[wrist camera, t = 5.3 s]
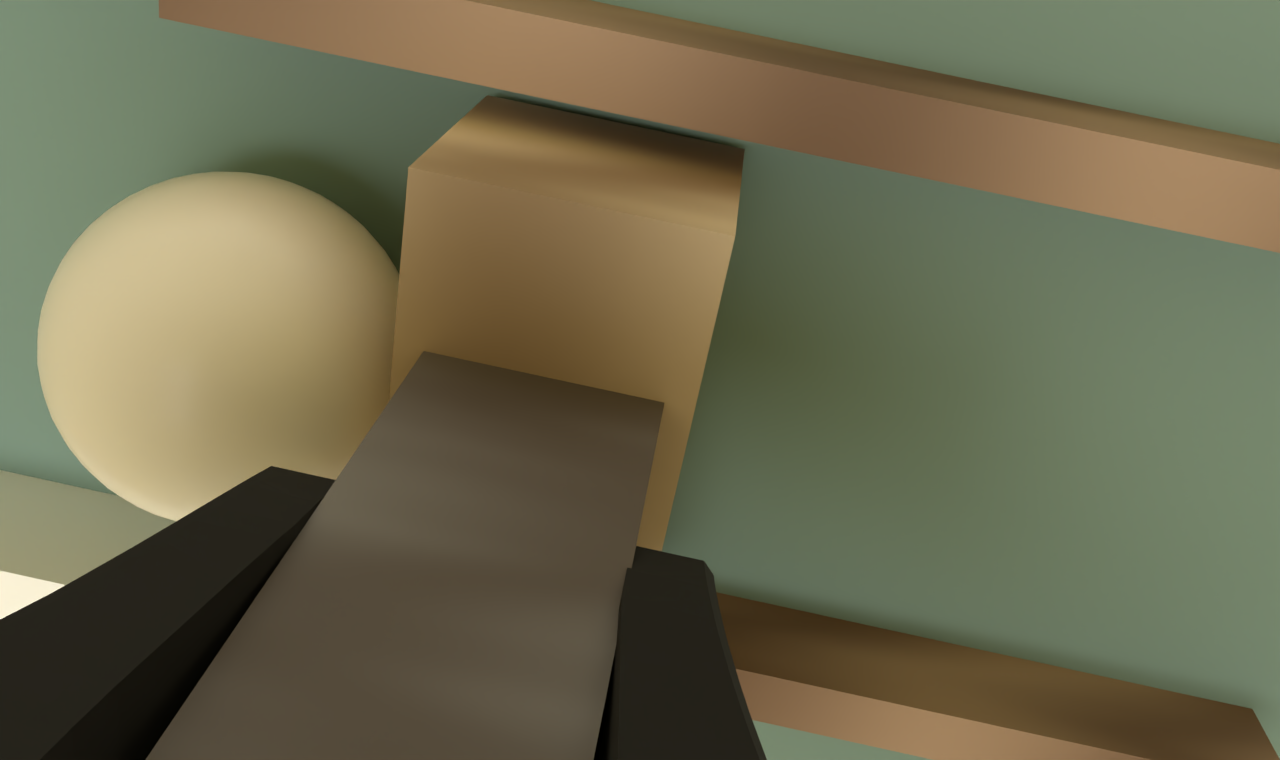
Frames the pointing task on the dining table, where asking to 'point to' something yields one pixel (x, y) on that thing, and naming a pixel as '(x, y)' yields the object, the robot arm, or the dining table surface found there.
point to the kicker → (494, 457)
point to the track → (889, 140)
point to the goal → (60, 535)
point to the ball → (217, 338)
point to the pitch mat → (817, 322)
